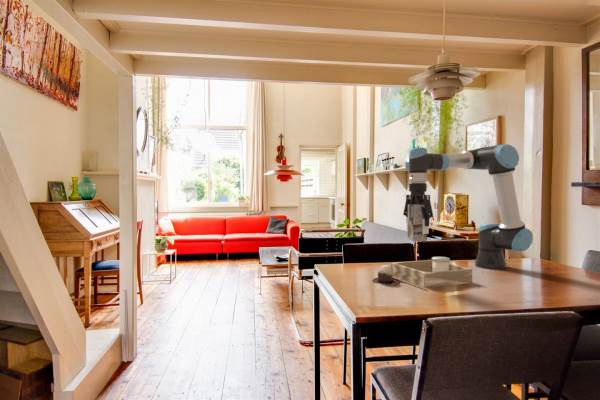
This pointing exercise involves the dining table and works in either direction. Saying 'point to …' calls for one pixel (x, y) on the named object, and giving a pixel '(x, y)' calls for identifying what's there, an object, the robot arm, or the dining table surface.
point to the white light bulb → (440, 264)
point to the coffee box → (415, 222)
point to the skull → (386, 276)
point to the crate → (430, 274)
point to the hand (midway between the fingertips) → (417, 232)
